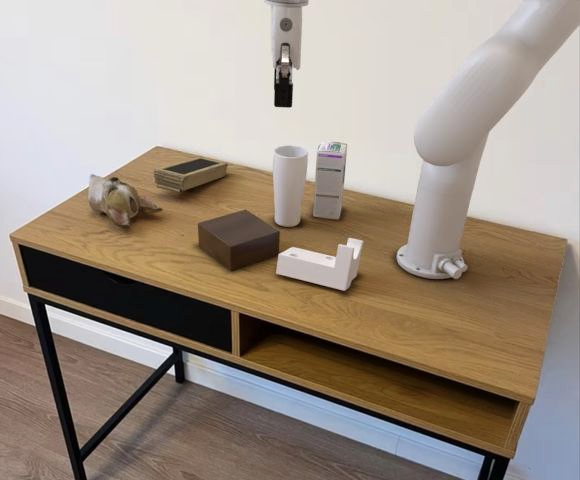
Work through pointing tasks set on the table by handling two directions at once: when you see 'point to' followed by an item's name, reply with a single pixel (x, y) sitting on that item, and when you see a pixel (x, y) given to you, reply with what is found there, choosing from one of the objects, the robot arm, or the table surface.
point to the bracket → (322, 265)
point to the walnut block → (238, 239)
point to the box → (189, 173)
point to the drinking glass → (289, 183)
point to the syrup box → (329, 179)
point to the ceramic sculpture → (117, 200)
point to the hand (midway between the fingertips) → (282, 98)
